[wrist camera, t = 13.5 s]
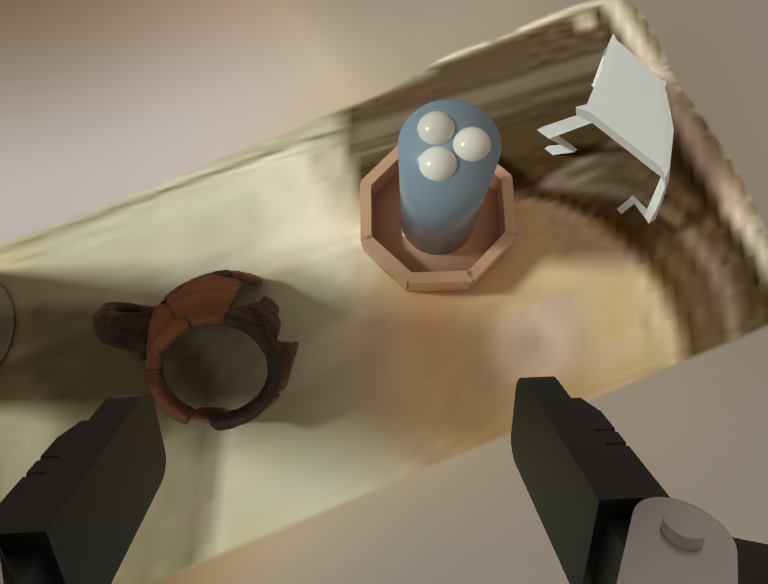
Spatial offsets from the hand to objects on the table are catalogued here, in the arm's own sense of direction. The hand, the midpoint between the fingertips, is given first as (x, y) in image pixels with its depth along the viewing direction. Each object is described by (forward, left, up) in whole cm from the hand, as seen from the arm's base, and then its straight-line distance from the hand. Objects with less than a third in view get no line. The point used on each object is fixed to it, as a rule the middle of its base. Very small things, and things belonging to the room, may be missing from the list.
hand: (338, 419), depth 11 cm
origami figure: (+16, +17, -21) cm, 32 cm away
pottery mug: (-11, +5, -21) cm, 24 cm away
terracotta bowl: (+4, +13, -21) cm, 25 cm away
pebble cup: (+4, +13, -20) cm, 24 cm away
